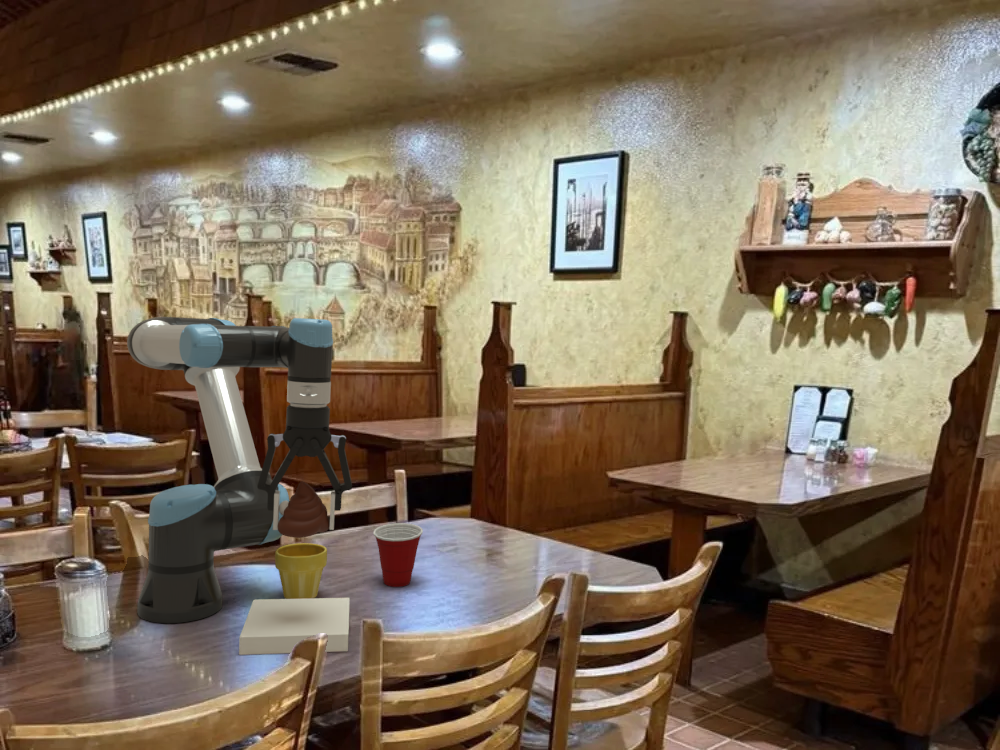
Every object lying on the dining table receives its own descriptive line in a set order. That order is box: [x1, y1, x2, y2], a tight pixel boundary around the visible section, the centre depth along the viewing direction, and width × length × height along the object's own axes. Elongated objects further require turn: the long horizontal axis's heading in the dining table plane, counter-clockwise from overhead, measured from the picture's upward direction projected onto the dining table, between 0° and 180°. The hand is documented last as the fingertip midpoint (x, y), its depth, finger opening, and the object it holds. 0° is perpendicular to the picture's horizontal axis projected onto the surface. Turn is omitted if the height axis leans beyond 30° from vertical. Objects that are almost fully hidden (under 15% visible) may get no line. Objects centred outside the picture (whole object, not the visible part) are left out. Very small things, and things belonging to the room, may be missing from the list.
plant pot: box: [274, 542, 328, 599], centre depth 158 cm, size 10×10×10 cm
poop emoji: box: [278, 481, 330, 539], centre depth 139 cm, size 10×8×9 cm
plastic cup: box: [372, 522, 424, 588], centre depth 169 cm, size 11×11×12 cm
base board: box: [238, 597, 351, 656], centre depth 140 cm, size 18×18×3 cm
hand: (303, 527), depth 140 cm, fingers closed on poop emoji, 9 cm apart
